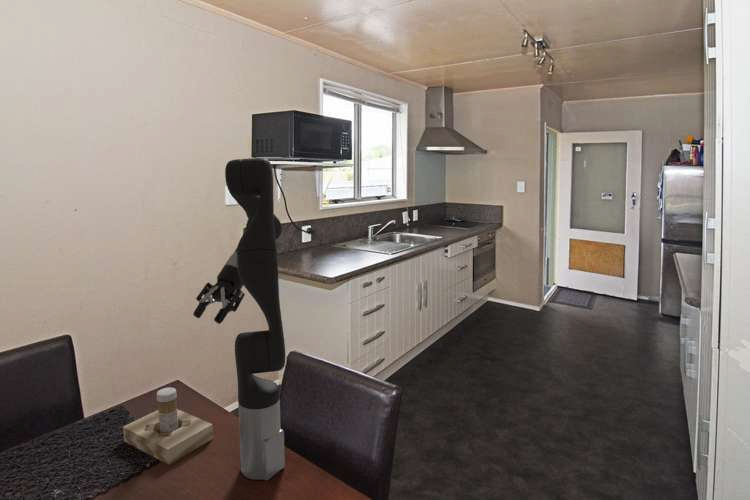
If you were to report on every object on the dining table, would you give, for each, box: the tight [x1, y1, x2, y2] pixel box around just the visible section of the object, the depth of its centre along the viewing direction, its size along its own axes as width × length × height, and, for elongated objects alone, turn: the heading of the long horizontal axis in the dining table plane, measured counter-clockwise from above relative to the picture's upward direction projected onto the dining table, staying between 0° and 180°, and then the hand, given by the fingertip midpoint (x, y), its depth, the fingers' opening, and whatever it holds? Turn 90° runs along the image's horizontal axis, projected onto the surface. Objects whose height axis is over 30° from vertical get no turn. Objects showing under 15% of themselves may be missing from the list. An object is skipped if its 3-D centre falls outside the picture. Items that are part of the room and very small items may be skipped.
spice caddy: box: [122, 408, 214, 466], centre depth 122 cm, size 18×13×4 cm
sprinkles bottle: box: [156, 387, 178, 433], centre depth 122 cm, size 5×5×14 cm
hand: (206, 319), depth 131 cm, fingers open, 8 cm apart
